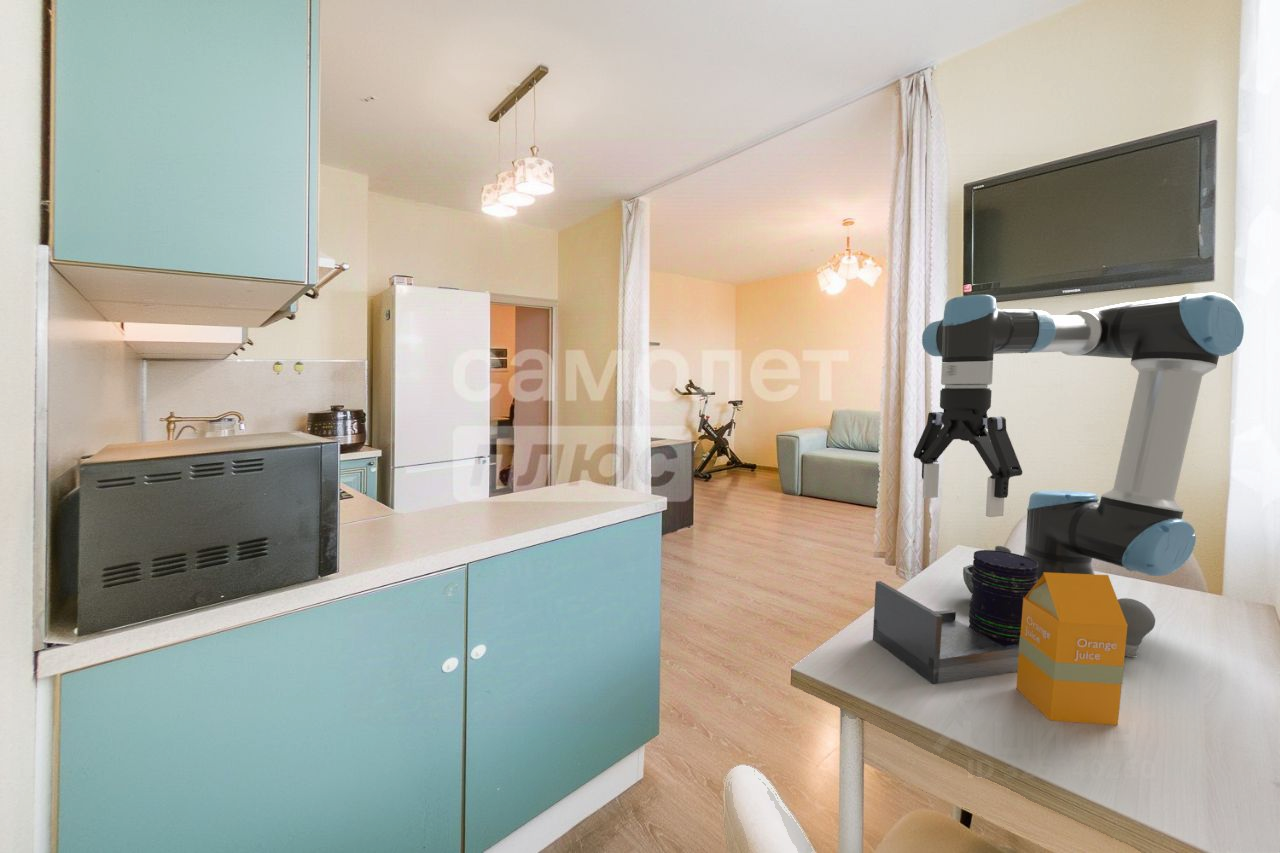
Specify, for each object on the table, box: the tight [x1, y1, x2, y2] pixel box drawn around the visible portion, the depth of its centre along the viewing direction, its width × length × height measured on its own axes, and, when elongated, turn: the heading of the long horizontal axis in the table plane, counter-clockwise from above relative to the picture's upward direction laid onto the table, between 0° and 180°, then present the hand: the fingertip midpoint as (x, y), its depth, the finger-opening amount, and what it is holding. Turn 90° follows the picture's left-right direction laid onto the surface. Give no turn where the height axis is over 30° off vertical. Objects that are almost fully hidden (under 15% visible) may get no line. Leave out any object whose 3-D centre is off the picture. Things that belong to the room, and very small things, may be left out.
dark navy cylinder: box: [968, 549, 1038, 646], centre depth 93 cm, size 10×10×15 cm
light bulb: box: [1117, 597, 1156, 658], centre depth 87 cm, size 6×6×10 cm
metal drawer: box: [872, 580, 1019, 685], centre depth 87 cm, size 17×14×11 cm
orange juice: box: [1015, 572, 1128, 726], centre depth 73 cm, size 8×9×20 cm
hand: (959, 506), depth 89 cm, fingers open, 13 cm apart
